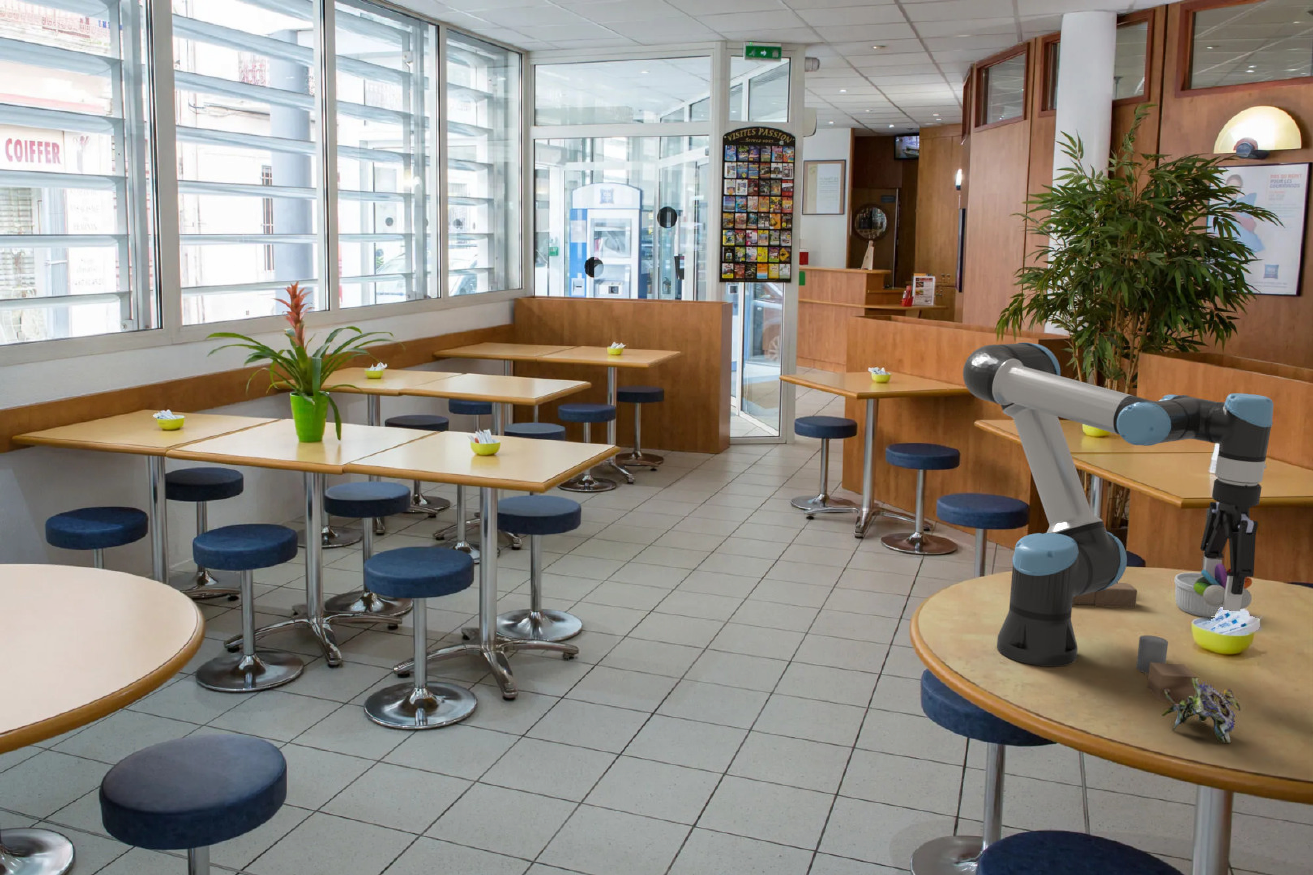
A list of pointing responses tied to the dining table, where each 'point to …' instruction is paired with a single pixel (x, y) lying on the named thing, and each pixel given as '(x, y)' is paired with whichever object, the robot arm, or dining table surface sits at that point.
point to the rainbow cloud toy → (1219, 587)
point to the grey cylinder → (1151, 652)
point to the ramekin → (1191, 596)
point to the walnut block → (1170, 681)
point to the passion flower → (1207, 709)
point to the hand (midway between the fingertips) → (1219, 600)
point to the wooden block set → (1110, 597)
